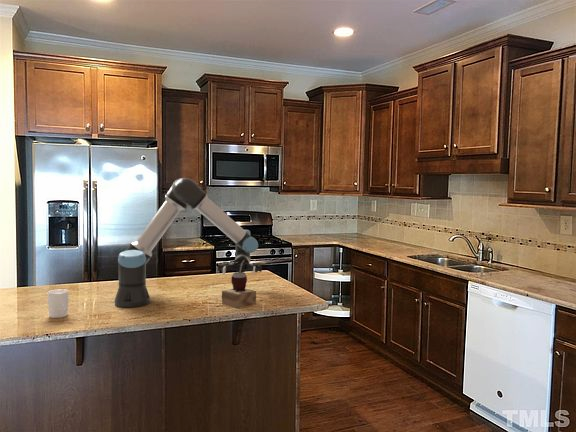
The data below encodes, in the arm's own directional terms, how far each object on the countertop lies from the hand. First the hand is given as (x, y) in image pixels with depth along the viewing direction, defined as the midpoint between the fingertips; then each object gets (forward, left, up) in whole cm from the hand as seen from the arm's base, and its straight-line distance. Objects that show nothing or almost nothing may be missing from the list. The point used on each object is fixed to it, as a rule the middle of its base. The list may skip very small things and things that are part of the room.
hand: (238, 271), depth 207 cm
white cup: (-63, +39, -16) cm, 76 cm away
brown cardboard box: (+2, +2, -15) cm, 16 cm away
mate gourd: (+3, +2, -9) cm, 10 cm away
